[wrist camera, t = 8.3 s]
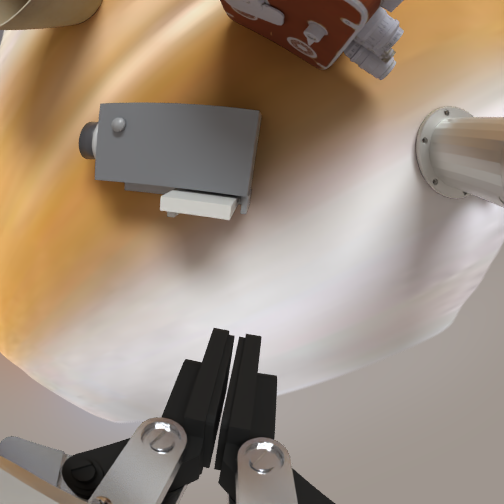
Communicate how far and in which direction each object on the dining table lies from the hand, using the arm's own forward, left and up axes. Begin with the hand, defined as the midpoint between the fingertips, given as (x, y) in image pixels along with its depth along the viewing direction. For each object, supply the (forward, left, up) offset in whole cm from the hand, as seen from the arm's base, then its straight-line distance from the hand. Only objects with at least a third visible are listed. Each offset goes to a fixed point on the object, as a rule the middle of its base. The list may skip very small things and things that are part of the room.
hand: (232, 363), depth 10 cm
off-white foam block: (+6, 0, -28) cm, 28 cm away
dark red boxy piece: (-2, -22, -29) cm, 36 cm away
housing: (+12, -5, -29) cm, 31 cm away
